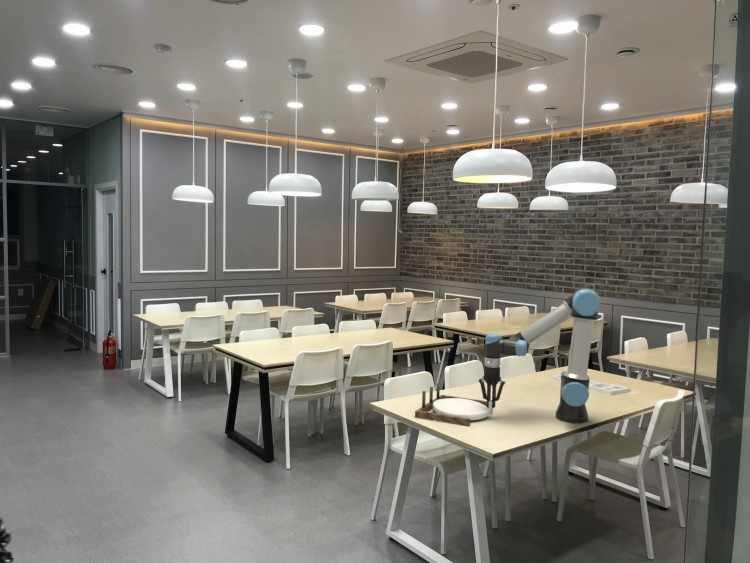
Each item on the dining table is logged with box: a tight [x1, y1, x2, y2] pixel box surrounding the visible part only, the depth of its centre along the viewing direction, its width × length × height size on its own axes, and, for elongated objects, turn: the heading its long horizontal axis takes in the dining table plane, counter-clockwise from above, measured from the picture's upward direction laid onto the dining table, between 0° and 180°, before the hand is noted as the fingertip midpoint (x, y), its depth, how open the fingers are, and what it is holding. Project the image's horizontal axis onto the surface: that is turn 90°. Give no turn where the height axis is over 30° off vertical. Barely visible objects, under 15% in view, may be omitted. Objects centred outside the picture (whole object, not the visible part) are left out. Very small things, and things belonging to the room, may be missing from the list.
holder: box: [550, 374, 632, 396], centre depth 356 cm, size 45×18×3 cm, turn 30°
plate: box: [432, 397, 490, 421], centre depth 286 cm, size 28×6×27 cm
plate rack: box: [414, 382, 489, 427], centre depth 289 cm, size 27×37×11 cm
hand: (490, 414), depth 281 cm, fingers closed
